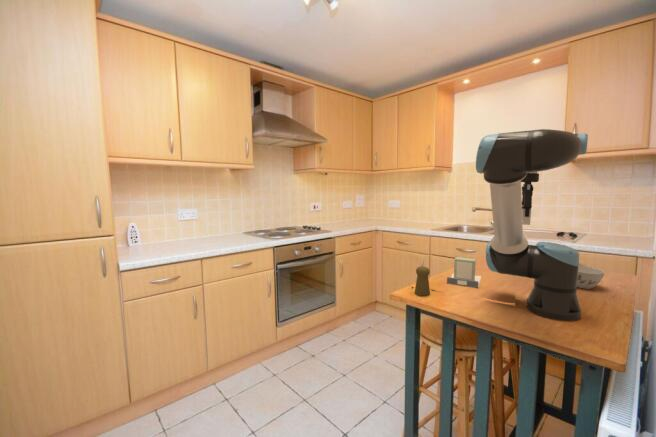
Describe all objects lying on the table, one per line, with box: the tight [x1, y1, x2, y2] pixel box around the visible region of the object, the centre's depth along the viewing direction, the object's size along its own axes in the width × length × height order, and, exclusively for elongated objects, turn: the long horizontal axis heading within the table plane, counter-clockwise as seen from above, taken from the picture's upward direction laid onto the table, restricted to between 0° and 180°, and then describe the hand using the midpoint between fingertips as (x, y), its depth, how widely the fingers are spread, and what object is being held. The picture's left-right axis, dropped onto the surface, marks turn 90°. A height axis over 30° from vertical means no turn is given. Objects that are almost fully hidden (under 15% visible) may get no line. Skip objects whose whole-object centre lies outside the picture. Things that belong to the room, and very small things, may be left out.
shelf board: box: [446, 272, 482, 289], centre depth 135 cm, size 18×12×4 cm, turn 149°
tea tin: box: [453, 256, 477, 281], centre depth 132 cm, size 8×4×10 cm, turn 59°
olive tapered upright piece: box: [414, 266, 431, 297], centre depth 122 cm, size 6×6×11 cm
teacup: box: [577, 264, 605, 290], centre depth 128 cm, size 15×12×8 cm
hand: (525, 222), depth 131 cm, fingers open, 13 cm apart
